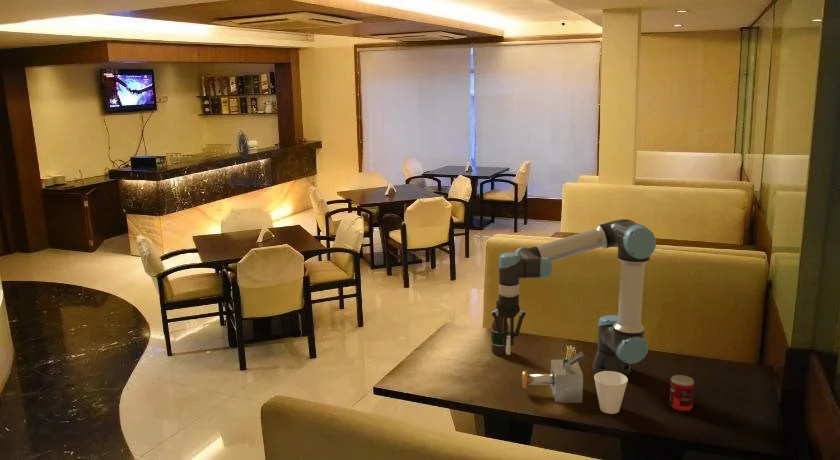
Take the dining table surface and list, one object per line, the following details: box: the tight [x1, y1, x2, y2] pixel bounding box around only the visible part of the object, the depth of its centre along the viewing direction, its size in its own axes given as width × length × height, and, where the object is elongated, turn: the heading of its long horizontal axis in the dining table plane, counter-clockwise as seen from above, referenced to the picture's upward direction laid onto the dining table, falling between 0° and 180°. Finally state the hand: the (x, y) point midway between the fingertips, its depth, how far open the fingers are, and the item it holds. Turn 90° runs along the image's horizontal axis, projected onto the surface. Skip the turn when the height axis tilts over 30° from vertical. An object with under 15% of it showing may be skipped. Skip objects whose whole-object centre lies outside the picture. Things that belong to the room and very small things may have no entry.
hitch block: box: [549, 357, 584, 404], centre depth 254 cm, size 10×14×13 cm
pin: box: [521, 370, 554, 389], centre depth 255 cm, size 18×6×6 cm, turn 86°
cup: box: [593, 371, 629, 415], centre depth 241 cm, size 12×12×12 cm
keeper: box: [564, 351, 586, 365], centre depth 252 cm, size 8×4×1 cm
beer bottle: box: [490, 299, 510, 357], centre depth 293 cm, size 8×8×24 cm
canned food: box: [668, 374, 695, 413], centre depth 242 cm, size 8×8×11 cm
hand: (508, 353), depth 253 cm, fingers closed
